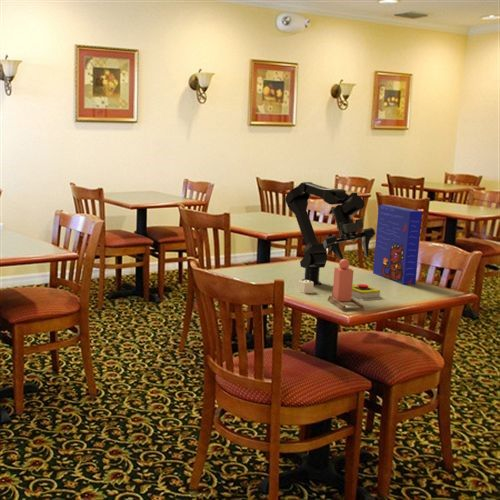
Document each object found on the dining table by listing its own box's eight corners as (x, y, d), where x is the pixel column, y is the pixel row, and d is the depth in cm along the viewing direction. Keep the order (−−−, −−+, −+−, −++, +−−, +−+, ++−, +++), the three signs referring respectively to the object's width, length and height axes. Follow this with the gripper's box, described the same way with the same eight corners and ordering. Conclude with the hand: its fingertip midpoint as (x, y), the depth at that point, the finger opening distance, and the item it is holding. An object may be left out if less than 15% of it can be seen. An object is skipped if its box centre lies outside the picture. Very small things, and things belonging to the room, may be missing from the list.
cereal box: (415, 284, 272) (422, 211, 267) (403, 284, 270) (410, 211, 265) (384, 272, 292) (390, 204, 287) (373, 273, 290) (378, 204, 284)
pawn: (332, 297, 237) (335, 257, 234) (345, 297, 238) (348, 257, 235) (337, 301, 232) (340, 260, 229) (351, 301, 233) (354, 260, 231)
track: (327, 300, 237) (328, 295, 237) (347, 300, 239) (348, 295, 239) (342, 311, 224) (343, 305, 224) (363, 310, 226) (364, 305, 226)
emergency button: (364, 289, 240) (339, 281, 253) (363, 301, 241) (338, 292, 253) (384, 288, 245) (358, 279, 257) (383, 299, 245) (357, 290, 258)
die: (298, 290, 251) (298, 279, 250) (307, 290, 252) (307, 278, 252) (304, 293, 247) (304, 281, 246) (312, 292, 249) (313, 281, 248)
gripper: (323, 217, 238) (335, 258, 234) (372, 207, 241) (385, 247, 236) (318, 228, 249) (329, 267, 244) (365, 218, 251) (377, 257, 247)
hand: (355, 259), depth 243 cm, fingers open, 9 cm apart
